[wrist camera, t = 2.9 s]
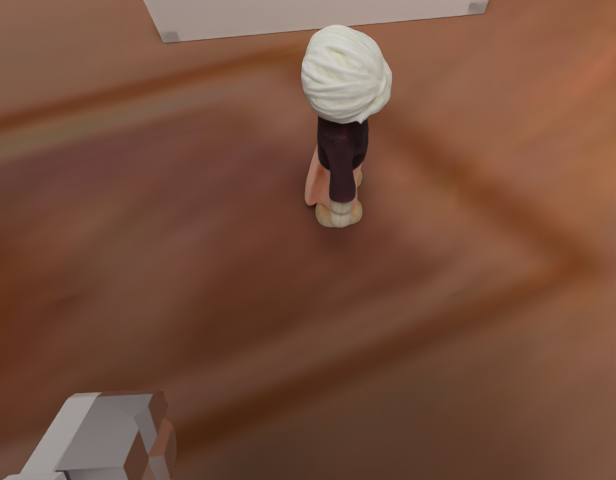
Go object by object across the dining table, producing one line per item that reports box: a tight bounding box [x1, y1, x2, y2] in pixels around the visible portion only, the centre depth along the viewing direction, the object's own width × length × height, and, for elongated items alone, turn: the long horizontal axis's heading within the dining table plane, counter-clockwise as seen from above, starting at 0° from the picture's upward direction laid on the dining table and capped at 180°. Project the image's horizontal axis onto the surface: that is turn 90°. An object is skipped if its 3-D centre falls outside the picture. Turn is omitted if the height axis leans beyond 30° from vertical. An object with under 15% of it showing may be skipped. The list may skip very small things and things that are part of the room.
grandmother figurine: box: [301, 24, 392, 228], centre depth 22 cm, size 8×4×13 cm, turn 6°
